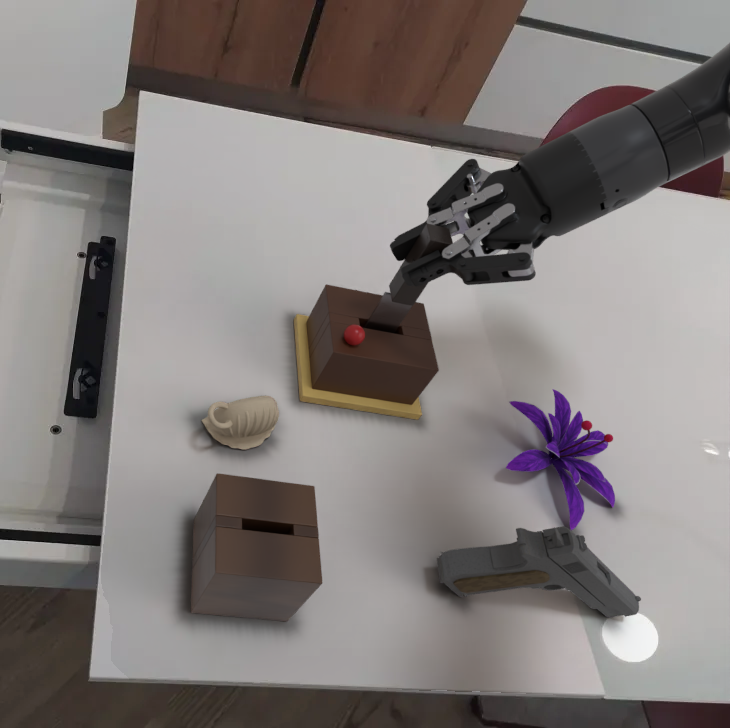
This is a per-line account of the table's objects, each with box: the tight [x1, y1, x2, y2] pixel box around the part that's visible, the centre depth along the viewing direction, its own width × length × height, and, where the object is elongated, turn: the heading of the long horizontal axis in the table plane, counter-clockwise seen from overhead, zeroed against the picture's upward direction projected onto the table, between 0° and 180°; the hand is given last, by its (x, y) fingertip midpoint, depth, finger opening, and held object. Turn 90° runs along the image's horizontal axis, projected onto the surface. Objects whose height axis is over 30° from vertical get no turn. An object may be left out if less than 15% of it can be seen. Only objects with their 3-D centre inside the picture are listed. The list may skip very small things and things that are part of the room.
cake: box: [293, 283, 440, 421], centre depth 75 cm, size 13×11×9 cm
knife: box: [363, 224, 454, 333], centre depth 70 cm, size 3×2×17 cm
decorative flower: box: [505, 388, 616, 531], centre depth 74 cm, size 14×15×7 cm
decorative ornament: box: [201, 395, 280, 451], centre depth 67 cm, size 4×8×5 cm, turn 110°
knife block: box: [190, 473, 323, 622], centre depth 58 cm, size 8×8×8 cm
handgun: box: [436, 525, 642, 618], centre depth 65 cm, size 3×18×12 cm
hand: (399, 265), depth 66 cm, fingers closed on knife, 2 cm apart
